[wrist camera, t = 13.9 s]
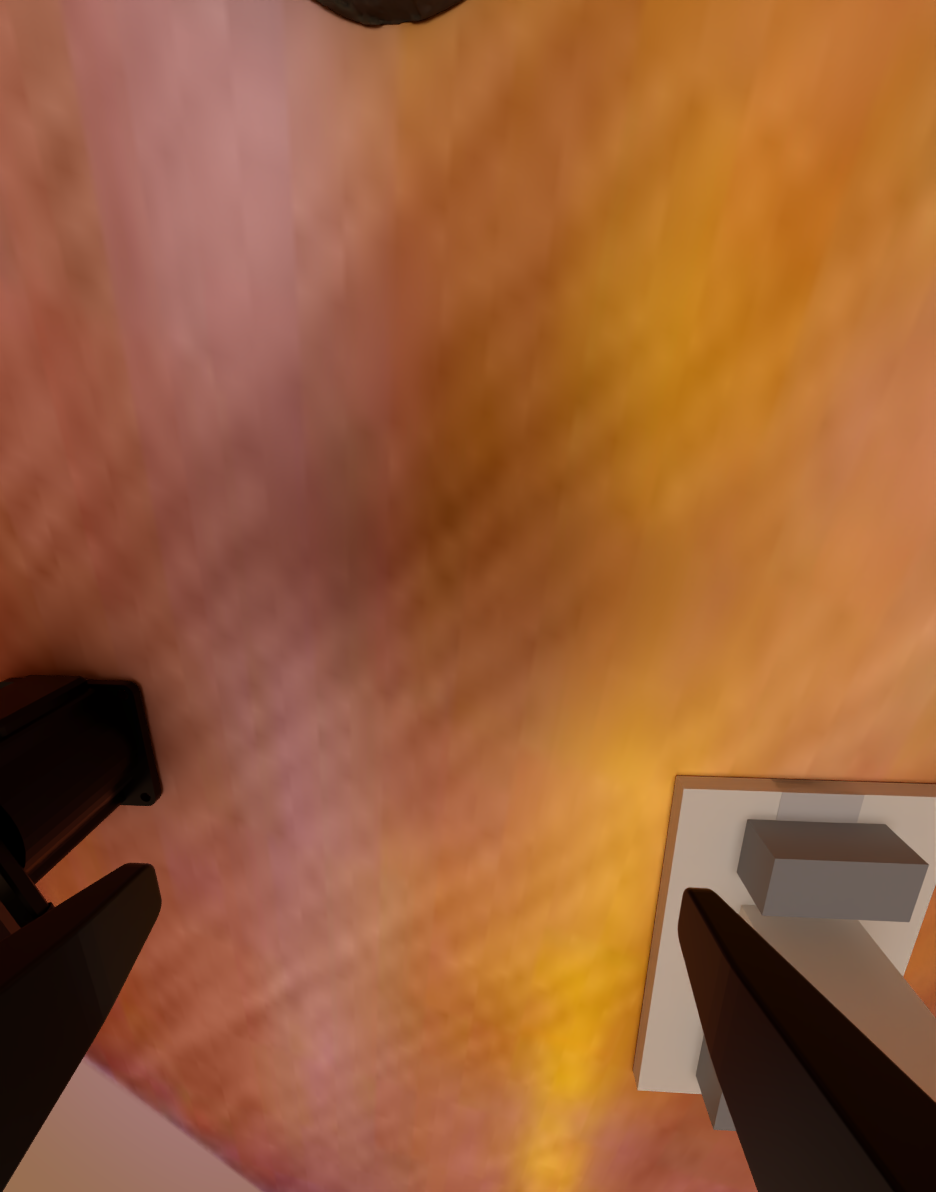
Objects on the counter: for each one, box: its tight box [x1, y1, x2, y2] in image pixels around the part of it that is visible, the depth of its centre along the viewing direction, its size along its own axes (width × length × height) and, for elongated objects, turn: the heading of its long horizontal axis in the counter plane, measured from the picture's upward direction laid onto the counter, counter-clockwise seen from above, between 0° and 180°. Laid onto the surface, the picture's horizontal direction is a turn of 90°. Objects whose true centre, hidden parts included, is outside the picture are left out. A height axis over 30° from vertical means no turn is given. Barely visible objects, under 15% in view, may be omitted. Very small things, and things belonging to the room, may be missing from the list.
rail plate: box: [633, 776, 936, 1131], centre depth 23 cm, size 20×12×3 cm, turn 0°
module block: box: [739, 905, 936, 1102], centre depth 18 cm, size 5×5×11 cm
